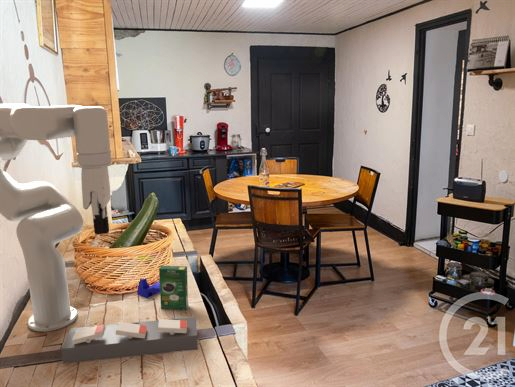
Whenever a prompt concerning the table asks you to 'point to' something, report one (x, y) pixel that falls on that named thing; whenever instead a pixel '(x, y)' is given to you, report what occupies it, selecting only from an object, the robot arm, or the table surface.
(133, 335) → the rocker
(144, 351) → the rocker switch panel
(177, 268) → the coffee box
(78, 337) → the rocker
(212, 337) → the table surface
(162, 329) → the rocker
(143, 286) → the blue piece
